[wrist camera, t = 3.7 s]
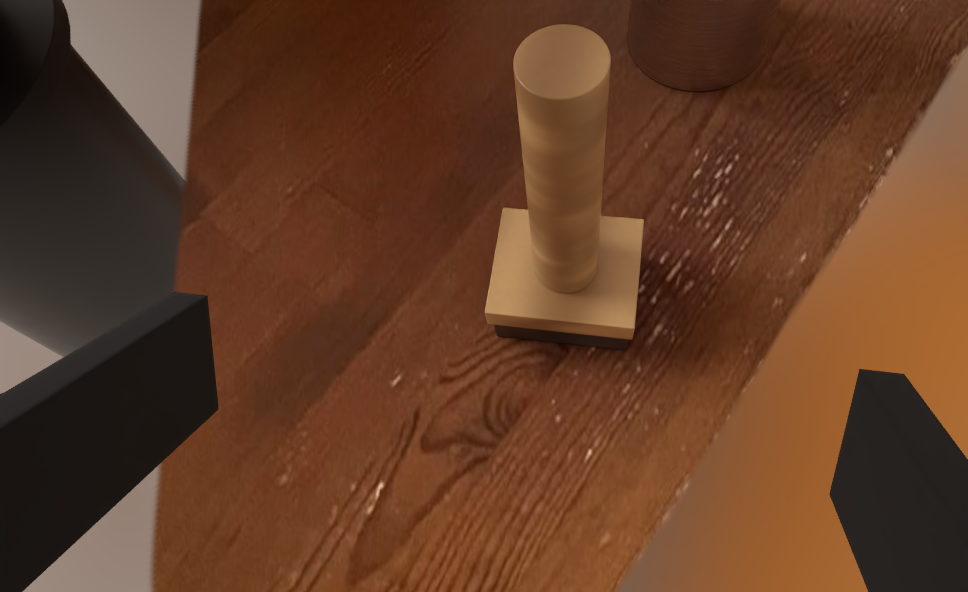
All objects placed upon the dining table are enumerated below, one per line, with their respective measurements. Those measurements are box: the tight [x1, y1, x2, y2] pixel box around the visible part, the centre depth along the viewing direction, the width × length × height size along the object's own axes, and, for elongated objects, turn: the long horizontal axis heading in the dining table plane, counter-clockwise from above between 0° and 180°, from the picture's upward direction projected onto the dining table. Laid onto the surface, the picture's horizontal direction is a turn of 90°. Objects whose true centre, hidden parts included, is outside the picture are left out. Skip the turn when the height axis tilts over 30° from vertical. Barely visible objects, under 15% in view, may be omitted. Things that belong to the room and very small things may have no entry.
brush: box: [485, 24, 644, 350], centre depth 27 cm, size 6×5×15 cm
